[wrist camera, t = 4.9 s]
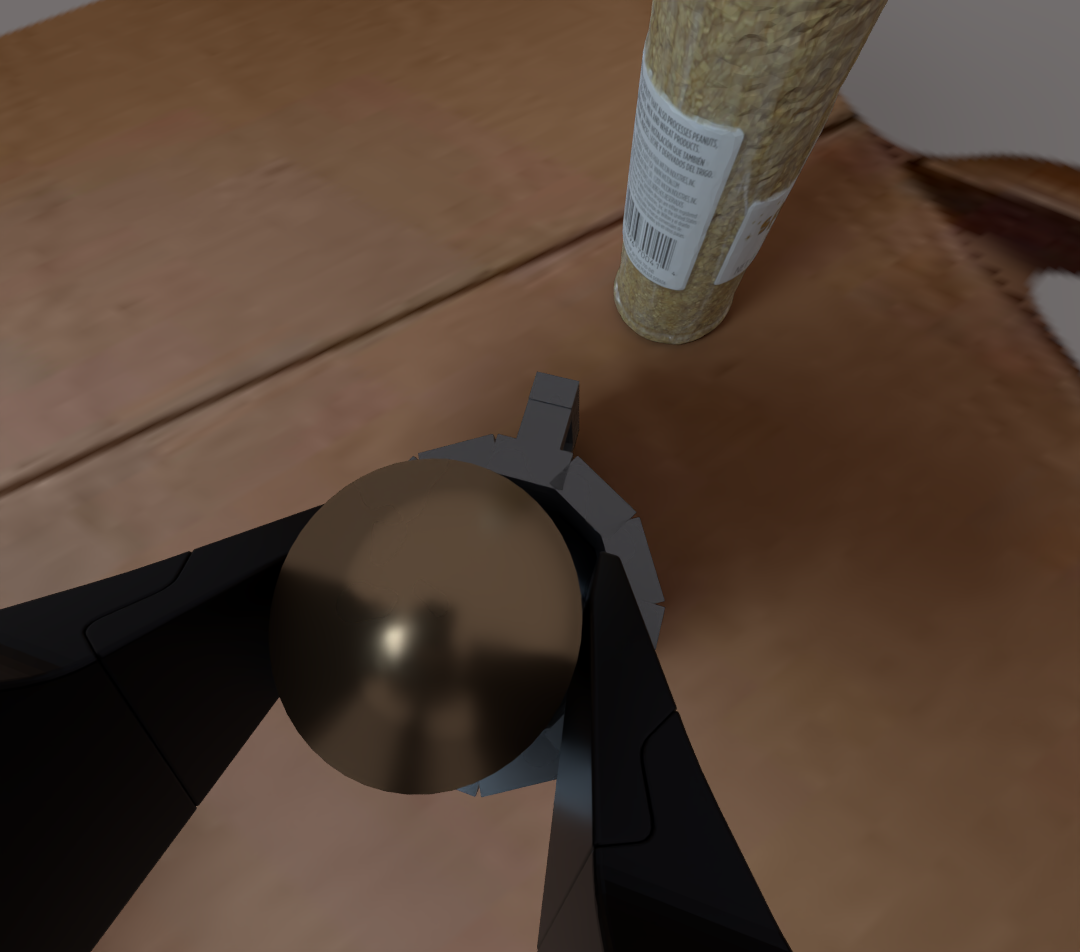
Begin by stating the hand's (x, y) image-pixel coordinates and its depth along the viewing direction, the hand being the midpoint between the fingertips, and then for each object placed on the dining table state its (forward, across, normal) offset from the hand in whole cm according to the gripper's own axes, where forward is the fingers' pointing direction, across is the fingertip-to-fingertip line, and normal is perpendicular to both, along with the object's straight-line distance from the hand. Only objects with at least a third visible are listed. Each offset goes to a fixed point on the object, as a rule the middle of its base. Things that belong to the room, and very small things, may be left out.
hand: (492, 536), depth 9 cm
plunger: (+3, 0, +5) cm, 6 cm away
